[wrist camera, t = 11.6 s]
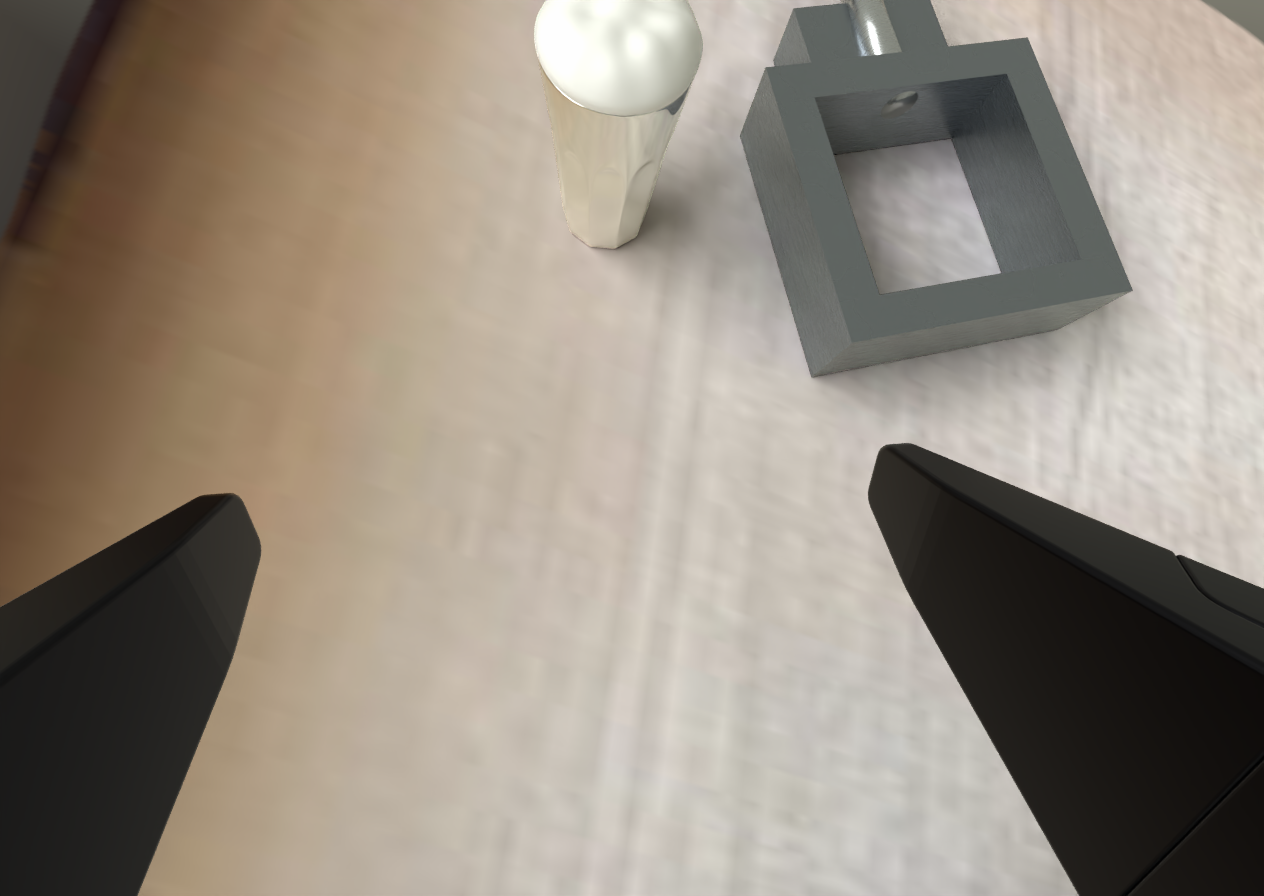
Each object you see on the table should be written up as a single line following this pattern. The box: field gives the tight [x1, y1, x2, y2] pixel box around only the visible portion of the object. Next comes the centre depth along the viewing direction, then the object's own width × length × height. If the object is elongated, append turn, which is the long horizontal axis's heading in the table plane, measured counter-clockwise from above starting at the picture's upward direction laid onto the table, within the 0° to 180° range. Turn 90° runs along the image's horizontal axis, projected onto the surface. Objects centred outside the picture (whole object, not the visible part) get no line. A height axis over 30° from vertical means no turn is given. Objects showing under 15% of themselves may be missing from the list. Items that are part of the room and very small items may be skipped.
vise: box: [740, 0, 1133, 377], centre depth 24 cm, size 17×11×4 cm, turn 13°
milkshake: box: [534, 0, 703, 249], centre depth 20 cm, size 4×5×10 cm
